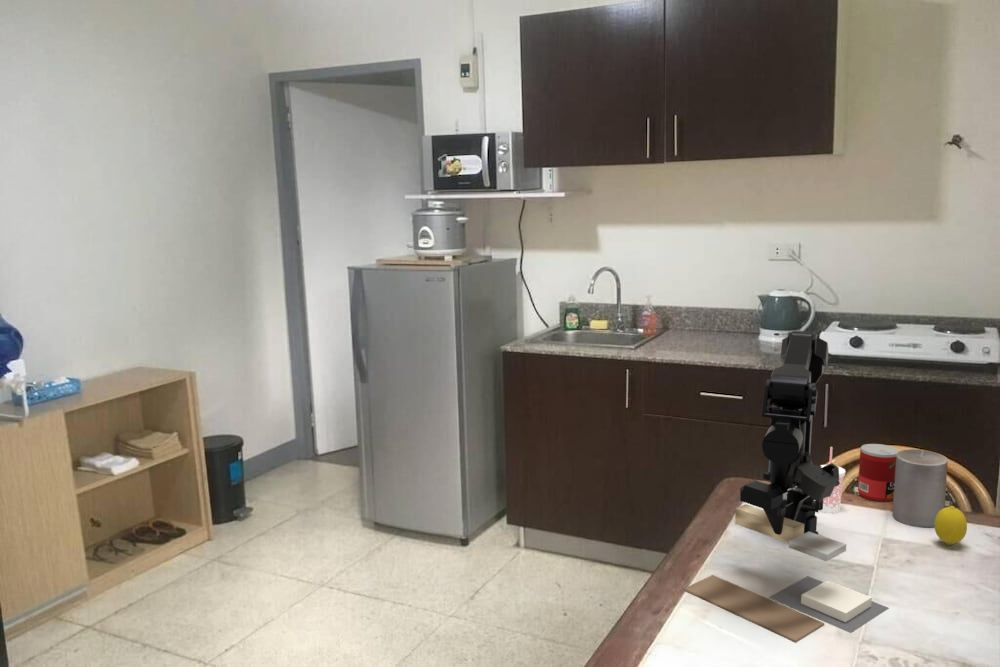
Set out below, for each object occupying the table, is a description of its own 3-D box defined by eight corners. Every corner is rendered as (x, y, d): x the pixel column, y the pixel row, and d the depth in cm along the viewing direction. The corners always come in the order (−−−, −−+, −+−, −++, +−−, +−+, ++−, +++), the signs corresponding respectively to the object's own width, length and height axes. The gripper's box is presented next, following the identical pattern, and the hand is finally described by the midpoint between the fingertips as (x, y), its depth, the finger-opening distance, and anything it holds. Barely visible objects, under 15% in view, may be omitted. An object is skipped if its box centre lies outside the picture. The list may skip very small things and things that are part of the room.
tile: (801, 594, 142) (846, 613, 136) (827, 580, 147) (871, 597, 140) (800, 604, 142) (845, 623, 136) (826, 589, 147) (871, 607, 141)
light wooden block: (730, 526, 153) (730, 510, 152) (749, 517, 156) (750, 502, 156) (826, 561, 138) (827, 544, 138) (846, 551, 142) (847, 534, 141)
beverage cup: (843, 505, 185) (847, 444, 182) (842, 516, 179) (846, 453, 176) (814, 501, 187) (817, 441, 184) (811, 511, 182) (815, 449, 179)
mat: (768, 599, 145) (768, 597, 145) (807, 578, 152) (807, 575, 152) (850, 635, 133) (851, 632, 133) (889, 610, 140) (889, 607, 140)
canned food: (893, 504, 185) (897, 456, 183) (854, 498, 189) (857, 451, 187) (898, 493, 191) (901, 446, 189) (860, 487, 195) (863, 441, 193)
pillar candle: (908, 506, 184) (912, 440, 181) (953, 520, 176) (958, 451, 173) (882, 517, 178) (886, 449, 176) (927, 532, 170) (932, 461, 168)
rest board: (683, 592, 148) (683, 588, 148) (712, 578, 153) (712, 574, 152) (795, 645, 131) (795, 640, 131) (824, 627, 136) (824, 623, 135)
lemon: (969, 552, 161) (972, 512, 160) (937, 550, 162) (941, 510, 161) (959, 540, 166) (963, 501, 165) (929, 538, 168) (932, 500, 166)
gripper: (798, 470, 133) (793, 562, 136) (860, 445, 144) (855, 531, 147) (738, 453, 141) (735, 540, 144) (801, 431, 153) (797, 512, 156)
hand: (783, 531), depth 148 cm, fingers closed on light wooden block, 3 cm apart
